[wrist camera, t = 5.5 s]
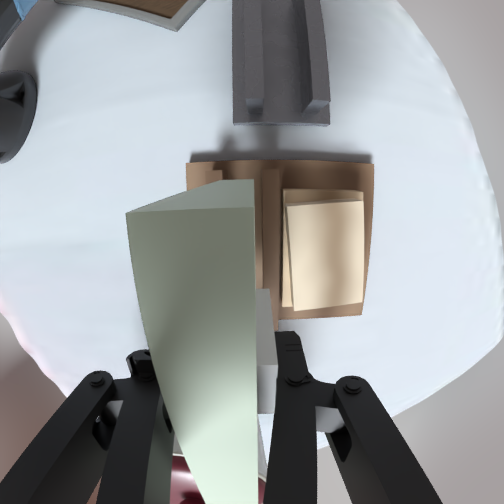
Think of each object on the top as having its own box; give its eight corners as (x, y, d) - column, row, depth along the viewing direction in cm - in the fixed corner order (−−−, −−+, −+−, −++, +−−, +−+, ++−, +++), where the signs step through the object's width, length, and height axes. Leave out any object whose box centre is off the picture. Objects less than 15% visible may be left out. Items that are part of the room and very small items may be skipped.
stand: (234, 125, 28) (227, 110, 20) (233, -3, 23) (228, -37, 15) (326, 126, 27) (347, 113, 20) (315, 0, 22) (327, -33, 15)
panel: (229, 341, 24) (207, 507, 9) (220, 180, 20) (125, 213, 5) (256, 341, 24) (258, 509, 9) (253, 179, 20) (253, 207, 5)
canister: (148, 347, 36) (87, 467, 15) (278, 361, 36) (291, 501, 16) (163, 424, 41) (133, 520, 21) (264, 435, 41) (266, 539, 21)
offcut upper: (291, 299, 29) (294, 311, 26) (284, 203, 26) (287, 206, 24) (354, 292, 28) (362, 302, 26) (354, 198, 26) (363, 201, 23)
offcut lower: (280, 296, 31) (282, 306, 29) (281, 188, 28) (283, 190, 26) (347, 294, 31) (354, 303, 29) (354, 190, 28) (363, 192, 26)
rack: (199, 313, 34) (191, 337, 29) (189, 163, 29) (175, 162, 24) (357, 309, 34) (372, 331, 28) (368, 164, 28) (390, 163, 23)
